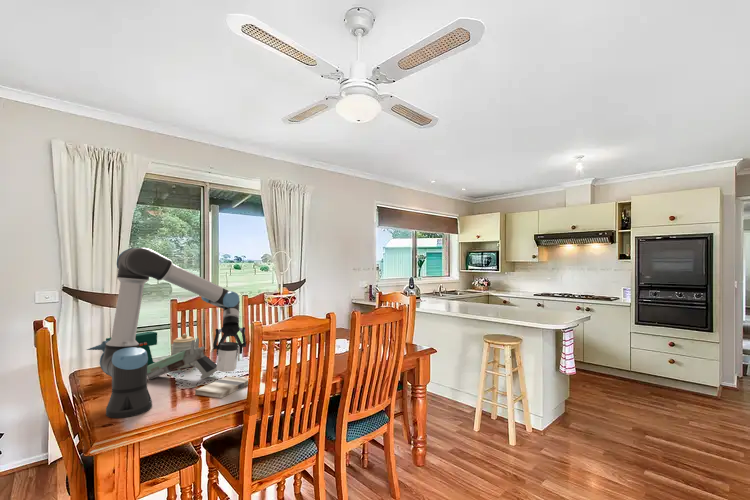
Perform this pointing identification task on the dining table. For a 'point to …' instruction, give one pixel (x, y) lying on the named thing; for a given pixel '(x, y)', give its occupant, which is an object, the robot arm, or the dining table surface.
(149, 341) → the power tool
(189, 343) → the jar
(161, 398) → the dining table surface
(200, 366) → the ray gun
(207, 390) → the board
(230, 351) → the jar
